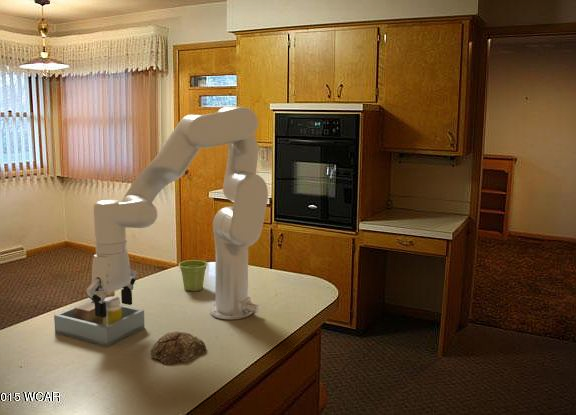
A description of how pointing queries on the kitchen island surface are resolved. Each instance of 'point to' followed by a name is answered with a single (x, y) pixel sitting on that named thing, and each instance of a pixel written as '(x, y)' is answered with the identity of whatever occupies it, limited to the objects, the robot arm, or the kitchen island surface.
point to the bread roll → (177, 348)
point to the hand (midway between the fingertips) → (114, 310)
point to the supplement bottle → (112, 310)
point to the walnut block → (87, 313)
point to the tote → (99, 326)
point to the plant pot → (193, 274)
